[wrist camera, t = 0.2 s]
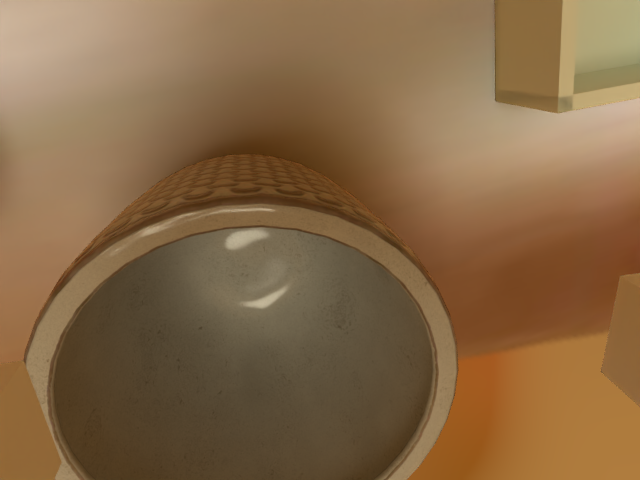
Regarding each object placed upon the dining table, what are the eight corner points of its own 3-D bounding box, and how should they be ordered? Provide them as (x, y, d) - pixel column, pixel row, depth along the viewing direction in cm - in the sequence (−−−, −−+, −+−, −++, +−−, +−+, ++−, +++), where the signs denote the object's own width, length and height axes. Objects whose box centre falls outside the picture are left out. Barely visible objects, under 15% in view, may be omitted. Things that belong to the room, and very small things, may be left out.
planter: (152, 363, 41) (87, 592, 24) (92, 139, 34) (-66, 232, 16) (370, 329, 44) (456, 515, 26) (359, 111, 36) (472, 166, 19)
